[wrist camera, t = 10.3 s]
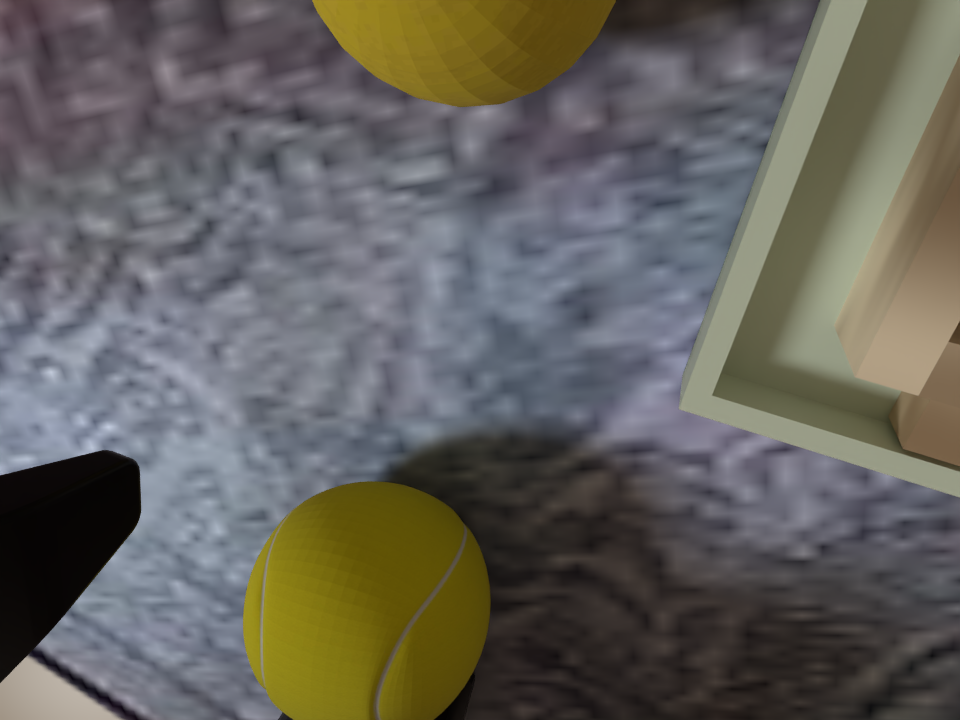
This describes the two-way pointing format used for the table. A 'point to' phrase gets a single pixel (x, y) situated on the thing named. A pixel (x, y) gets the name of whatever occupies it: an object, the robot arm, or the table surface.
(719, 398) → the tray
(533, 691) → the table surface
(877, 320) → the wooden rectangular frame
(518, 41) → the lemon
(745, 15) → the table surface
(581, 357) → the table surface
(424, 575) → the tennis ball
